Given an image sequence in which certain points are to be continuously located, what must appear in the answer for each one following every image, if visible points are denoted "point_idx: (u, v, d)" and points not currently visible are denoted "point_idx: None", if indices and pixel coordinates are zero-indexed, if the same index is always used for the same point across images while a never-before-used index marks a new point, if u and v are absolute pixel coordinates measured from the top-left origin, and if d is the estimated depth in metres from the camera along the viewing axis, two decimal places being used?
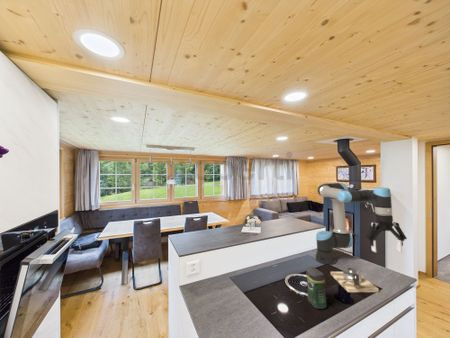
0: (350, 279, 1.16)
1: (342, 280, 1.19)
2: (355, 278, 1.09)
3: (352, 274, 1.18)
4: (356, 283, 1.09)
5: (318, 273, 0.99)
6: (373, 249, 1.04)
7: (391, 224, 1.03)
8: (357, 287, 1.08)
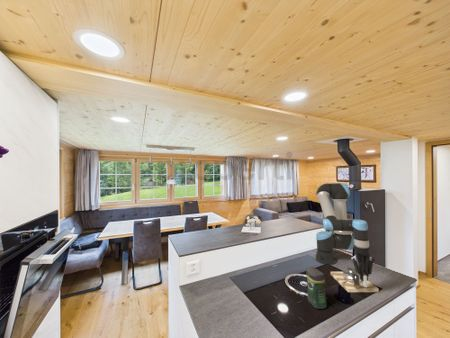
0: (350, 279, 1.16)
1: (342, 280, 1.19)
2: (355, 278, 1.09)
3: (352, 274, 1.18)
4: (356, 283, 1.09)
5: (318, 273, 0.99)
6: None
7: None
8: (357, 287, 1.08)
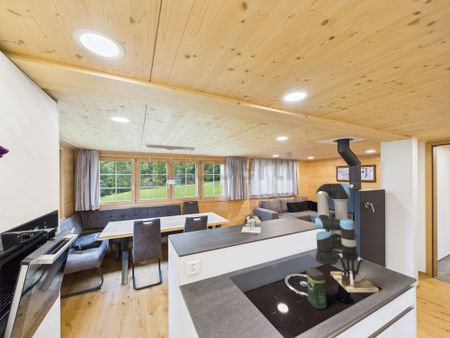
0: (345, 277, 1.19)
1: None
2: (341, 274, 1.14)
3: None
4: (342, 279, 1.13)
5: (318, 273, 0.99)
6: (353, 281, 1.11)
7: None
8: (343, 283, 1.13)
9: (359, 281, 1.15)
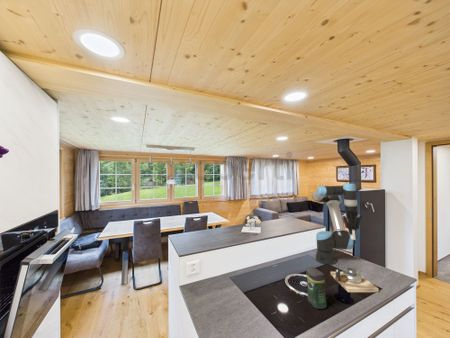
0: None
1: None
2: None
3: (348, 273, 1.20)
4: (336, 275, 1.18)
5: (318, 273, 0.99)
6: None
7: None
8: (336, 279, 1.17)
9: (356, 281, 1.15)
